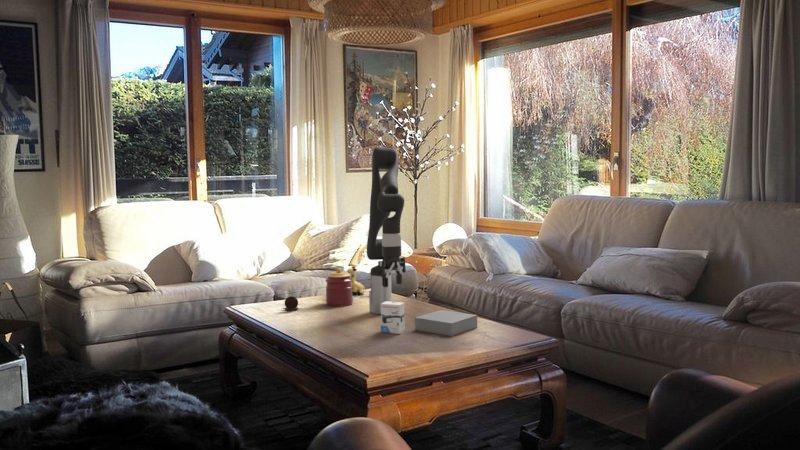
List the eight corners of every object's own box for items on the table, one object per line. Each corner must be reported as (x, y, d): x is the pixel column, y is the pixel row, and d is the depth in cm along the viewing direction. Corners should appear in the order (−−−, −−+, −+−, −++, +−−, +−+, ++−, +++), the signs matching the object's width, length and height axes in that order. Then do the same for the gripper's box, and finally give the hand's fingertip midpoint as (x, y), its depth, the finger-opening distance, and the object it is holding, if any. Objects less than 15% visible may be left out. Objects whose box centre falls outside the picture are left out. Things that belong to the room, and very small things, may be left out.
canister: (351, 306, 329) (351, 269, 327) (324, 307, 329) (323, 270, 327) (354, 301, 342) (353, 265, 340) (327, 301, 342) (326, 266, 340)
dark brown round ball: (297, 308, 327) (297, 292, 327) (298, 311, 319) (297, 296, 319) (280, 309, 326) (280, 293, 325) (280, 312, 318) (280, 296, 318)
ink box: (380, 332, 276) (379, 303, 275) (385, 329, 281) (384, 300, 280) (400, 334, 273) (399, 304, 272) (405, 331, 278) (404, 302, 277)
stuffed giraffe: (336, 294, 363) (337, 263, 361) (369, 292, 370) (369, 262, 368) (346, 300, 348) (347, 269, 346) (380, 298, 355) (381, 267, 354)
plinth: (415, 329, 280) (414, 317, 280) (441, 321, 294) (440, 309, 294) (452, 336, 269) (451, 323, 269) (477, 327, 283) (477, 315, 282)
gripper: (395, 242, 282) (396, 282, 283) (372, 245, 271) (373, 287, 272) (410, 243, 278) (410, 283, 279) (387, 246, 266) (388, 288, 268)
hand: (392, 285), depth 276 cm, fingers open, 8 cm apart
